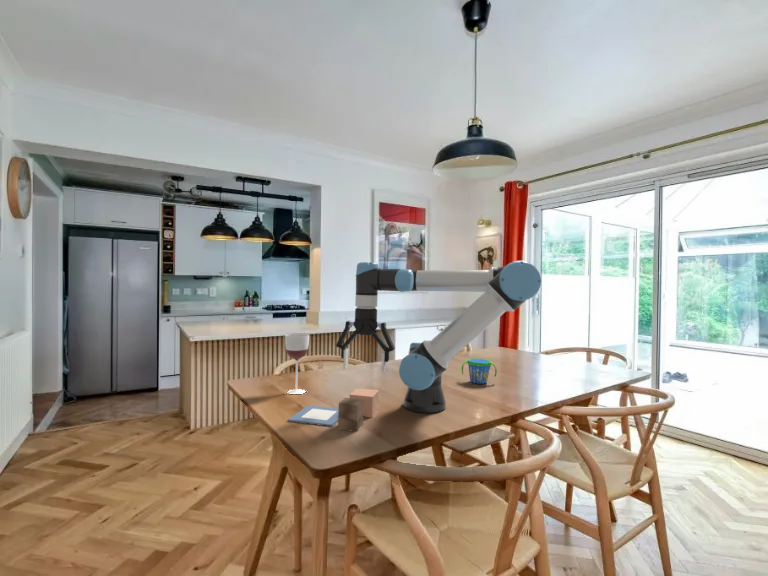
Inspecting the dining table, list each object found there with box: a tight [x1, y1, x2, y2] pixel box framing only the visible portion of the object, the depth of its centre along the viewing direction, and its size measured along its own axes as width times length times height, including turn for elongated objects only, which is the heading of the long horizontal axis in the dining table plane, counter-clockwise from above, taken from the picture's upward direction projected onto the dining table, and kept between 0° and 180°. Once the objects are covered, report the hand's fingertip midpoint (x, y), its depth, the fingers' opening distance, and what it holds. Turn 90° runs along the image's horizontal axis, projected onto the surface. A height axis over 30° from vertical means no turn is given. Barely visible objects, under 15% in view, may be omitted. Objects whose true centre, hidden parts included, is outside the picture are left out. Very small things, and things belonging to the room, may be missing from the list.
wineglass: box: [284, 332, 310, 395], centre depth 154 cm, size 9×10×23 cm
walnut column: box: [337, 397, 364, 432], centre depth 118 cm, size 6×6×8 cm
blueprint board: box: [287, 404, 339, 427], centre depth 127 cm, size 15×15×1 cm
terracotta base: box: [349, 388, 380, 418], centre depth 132 cm, size 8×8×7 cm
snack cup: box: [461, 357, 498, 385], centre depth 176 cm, size 16×10×10 cm
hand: (364, 369), depth 132 cm, fingers open, 13 cm apart
